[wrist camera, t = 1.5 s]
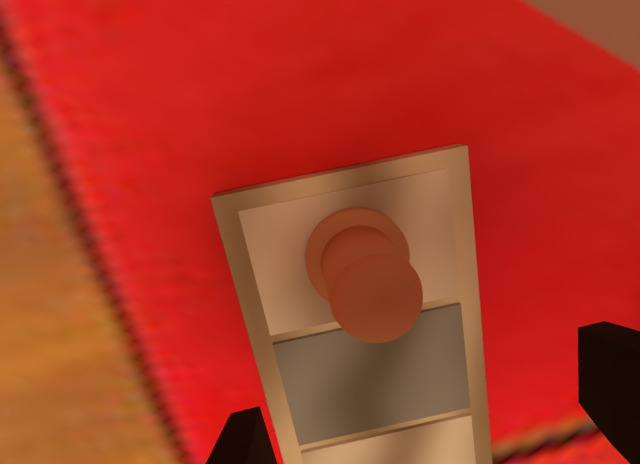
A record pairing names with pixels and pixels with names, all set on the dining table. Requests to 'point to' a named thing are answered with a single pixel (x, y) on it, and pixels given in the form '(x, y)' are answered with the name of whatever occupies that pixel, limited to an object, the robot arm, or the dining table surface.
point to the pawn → (365, 274)
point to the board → (347, 351)
